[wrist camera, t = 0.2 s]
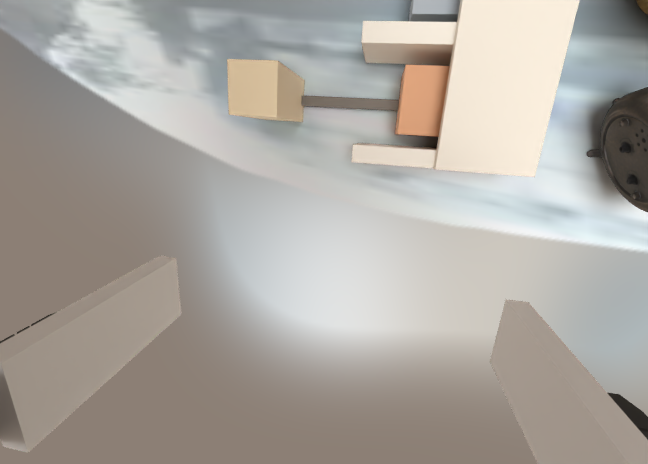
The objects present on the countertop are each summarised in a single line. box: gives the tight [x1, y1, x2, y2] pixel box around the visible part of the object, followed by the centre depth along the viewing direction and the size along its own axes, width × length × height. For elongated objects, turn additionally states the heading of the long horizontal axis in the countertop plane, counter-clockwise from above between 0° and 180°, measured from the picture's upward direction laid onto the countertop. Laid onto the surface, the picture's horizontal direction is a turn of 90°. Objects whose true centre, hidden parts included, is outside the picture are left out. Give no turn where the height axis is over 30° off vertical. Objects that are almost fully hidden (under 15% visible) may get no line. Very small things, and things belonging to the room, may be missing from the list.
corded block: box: [227, 59, 450, 137], centre depth 31 cm, size 6×21×10 cm, turn 87°
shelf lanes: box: [351, 0, 580, 177], centre depth 29 cm, size 22×16×9 cm
